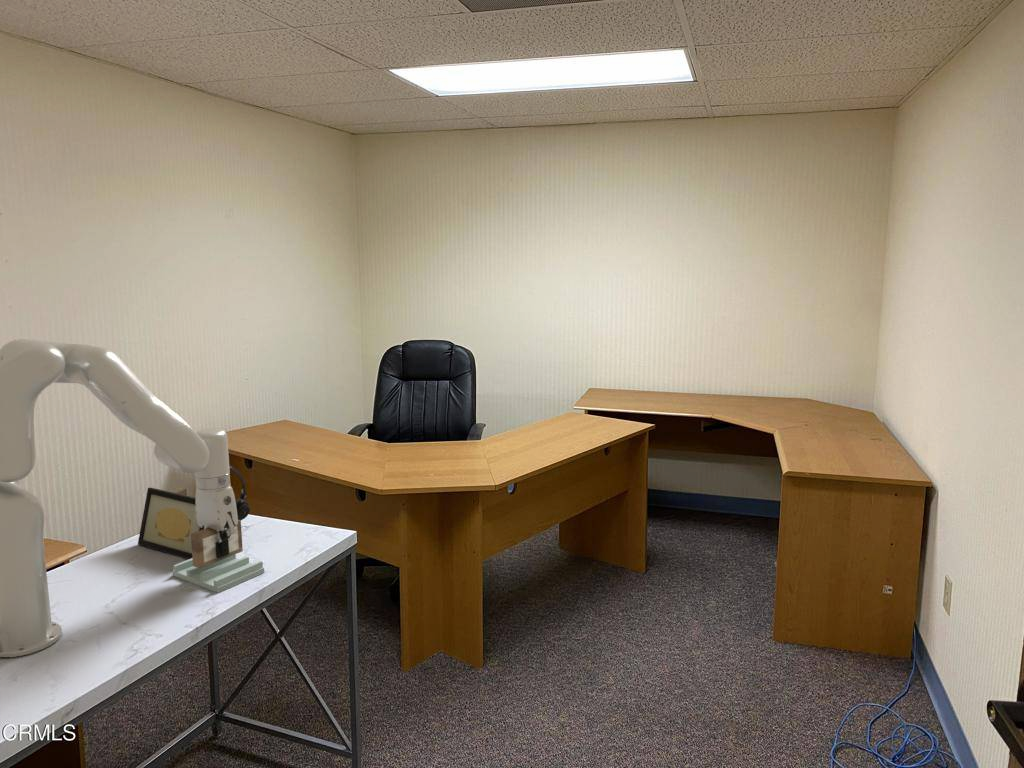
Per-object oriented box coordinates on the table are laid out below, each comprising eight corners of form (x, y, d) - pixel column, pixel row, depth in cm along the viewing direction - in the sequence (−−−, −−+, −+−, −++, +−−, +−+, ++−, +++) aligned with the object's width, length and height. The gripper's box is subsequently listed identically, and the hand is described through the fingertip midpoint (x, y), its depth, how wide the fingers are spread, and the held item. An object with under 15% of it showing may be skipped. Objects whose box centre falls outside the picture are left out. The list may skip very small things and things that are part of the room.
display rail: (218, 592, 168) (217, 581, 168) (172, 575, 177) (172, 564, 176) (264, 572, 179) (263, 562, 178) (219, 557, 188) (218, 547, 187)
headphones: (269, 531, 206) (265, 462, 202) (238, 545, 196) (234, 472, 192) (229, 522, 212) (225, 455, 208) (197, 535, 202) (192, 465, 198)
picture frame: (137, 545, 195) (138, 489, 194) (166, 537, 203) (168, 484, 202) (197, 562, 184) (199, 503, 183) (226, 554, 192) (228, 497, 191)
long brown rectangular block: (200, 568, 172) (197, 536, 170) (193, 566, 173) (190, 533, 172) (243, 551, 182) (241, 520, 180) (236, 549, 183) (234, 518, 182)
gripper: (249, 482, 173) (253, 556, 176) (205, 471, 181) (210, 542, 185) (221, 491, 167) (226, 567, 170) (177, 479, 175) (183, 552, 178)
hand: (218, 554), depth 177 cm, fingers closed on long brown rectangular block, 2 cm apart
